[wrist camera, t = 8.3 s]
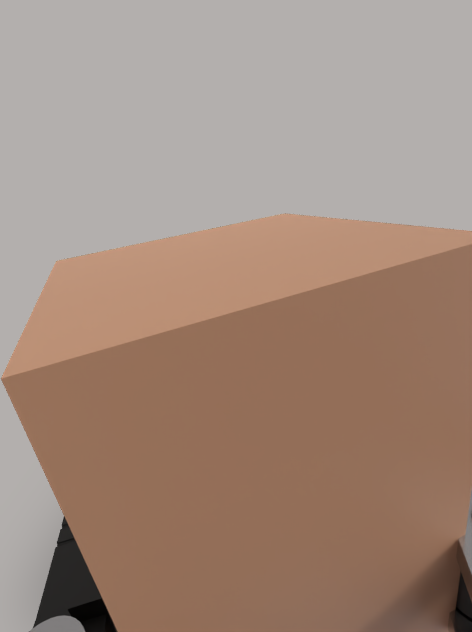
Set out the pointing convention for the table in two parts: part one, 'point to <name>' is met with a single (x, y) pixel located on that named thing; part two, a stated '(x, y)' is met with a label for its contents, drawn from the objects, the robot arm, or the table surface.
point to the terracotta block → (260, 423)
